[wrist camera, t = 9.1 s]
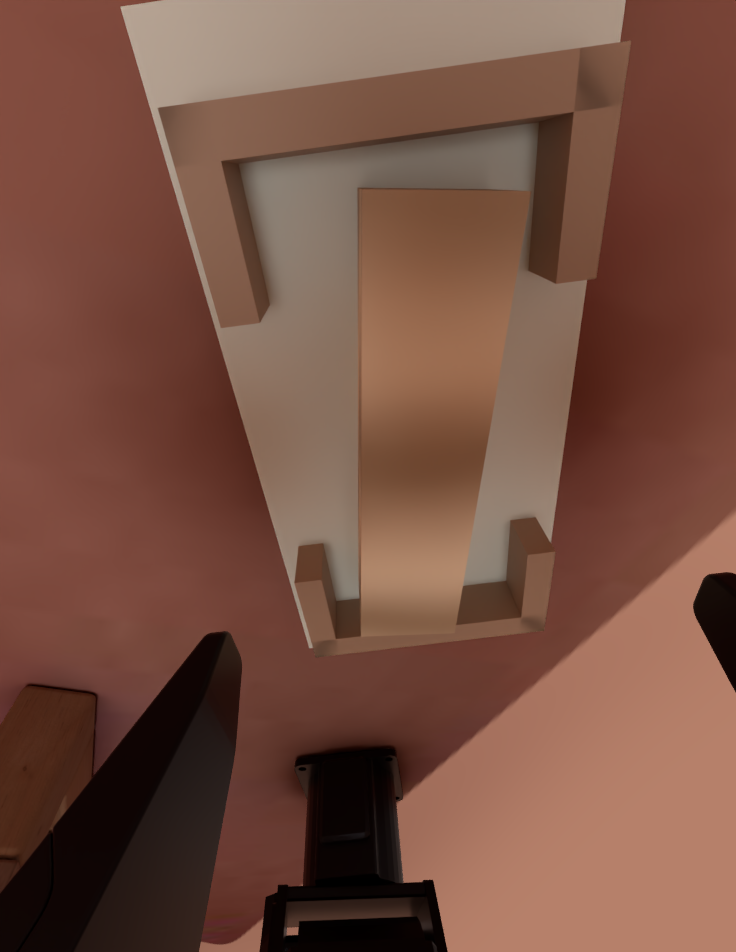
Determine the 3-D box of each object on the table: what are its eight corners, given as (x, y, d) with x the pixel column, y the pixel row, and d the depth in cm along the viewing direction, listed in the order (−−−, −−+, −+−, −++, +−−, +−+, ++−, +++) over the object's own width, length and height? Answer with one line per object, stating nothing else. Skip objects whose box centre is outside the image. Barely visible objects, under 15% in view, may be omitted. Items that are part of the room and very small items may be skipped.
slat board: (532, 604, 22) (556, 658, 20) (310, 630, 23) (306, 687, 20) (611, -49, 10) (697, -122, 8) (137, 20, 11) (74, -30, 8)
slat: (439, 574, 20) (454, 633, 17) (358, 577, 19) (360, 636, 17) (491, 189, 12) (531, 191, 9) (357, 187, 12) (362, 189, 9)
